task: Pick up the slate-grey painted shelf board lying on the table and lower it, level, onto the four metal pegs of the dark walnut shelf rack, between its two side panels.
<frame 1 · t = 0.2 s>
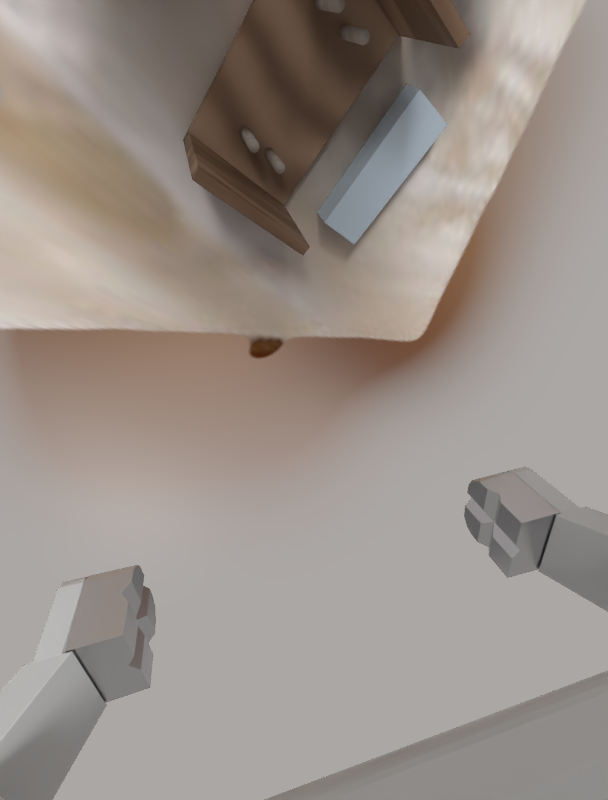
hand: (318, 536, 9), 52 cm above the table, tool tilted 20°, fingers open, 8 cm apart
shelf rack: (289, 82, 45), on the table
shelf board: (371, 166, 54), on the table
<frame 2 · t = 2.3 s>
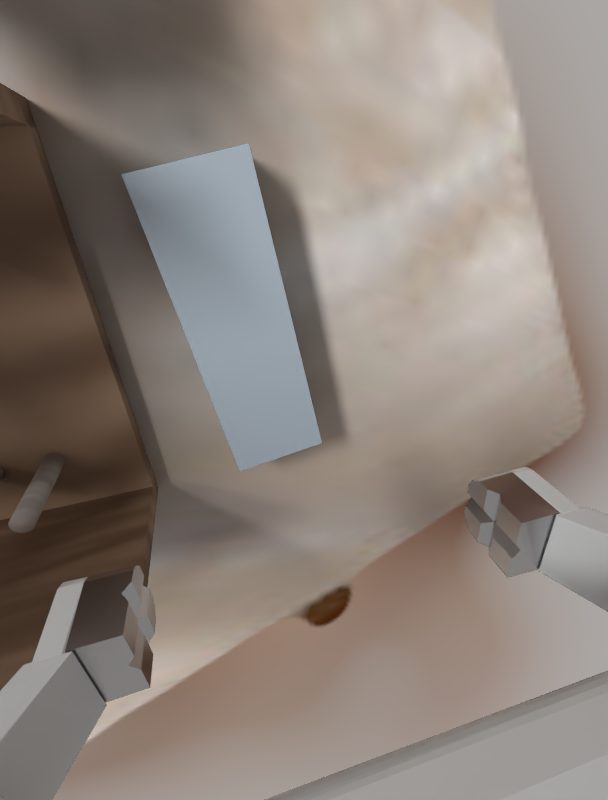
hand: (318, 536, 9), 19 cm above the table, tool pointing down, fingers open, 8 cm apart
shelf board: (236, 318, 26), on the table
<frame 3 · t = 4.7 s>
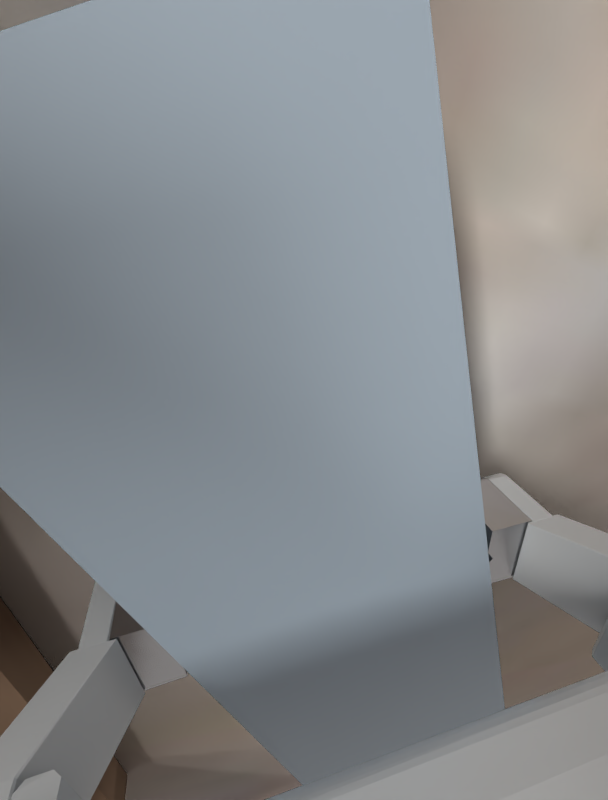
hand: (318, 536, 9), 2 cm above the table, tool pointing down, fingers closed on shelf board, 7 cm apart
shelf board: (300, 488, 11), on the table, touching gripper
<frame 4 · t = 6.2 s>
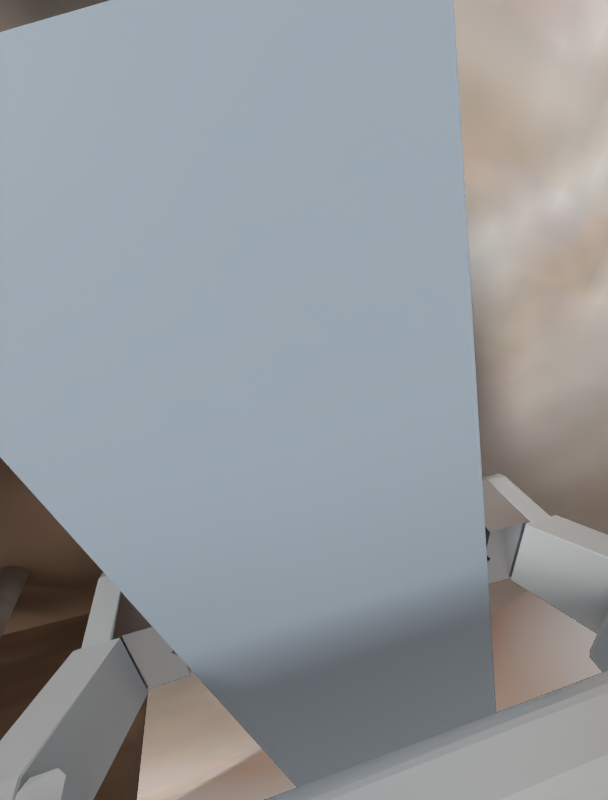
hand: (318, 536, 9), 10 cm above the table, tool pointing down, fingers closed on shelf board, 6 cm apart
shelf board: (300, 487, 11), point 8 cm above the table, touching gripper
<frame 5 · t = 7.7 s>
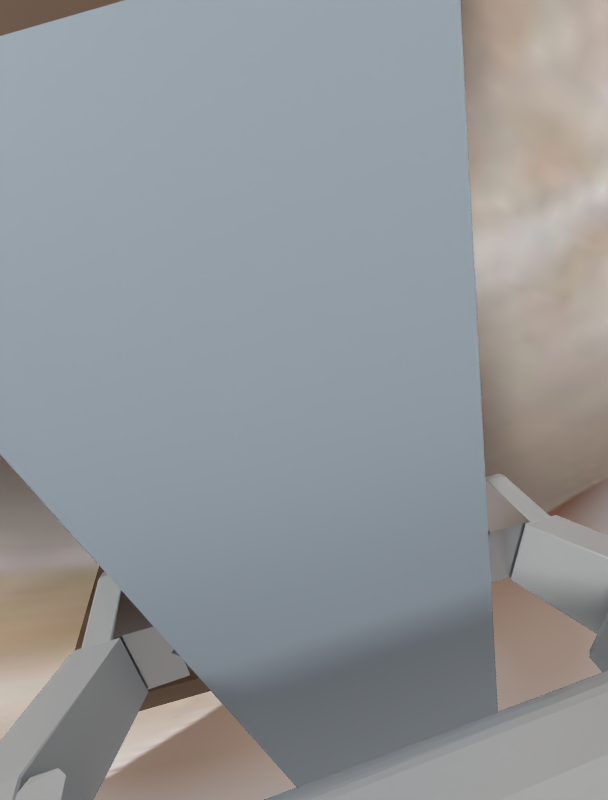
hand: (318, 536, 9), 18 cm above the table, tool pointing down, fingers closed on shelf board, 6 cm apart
shelf rack: (185, 343, 25), on the table
shelf board: (302, 488, 11), point 16 cm above the table, touching gripper
when the fingers open (10 cm above the table, at t = 10.0 s): shelf board stays where it is, resting on shelf rack.
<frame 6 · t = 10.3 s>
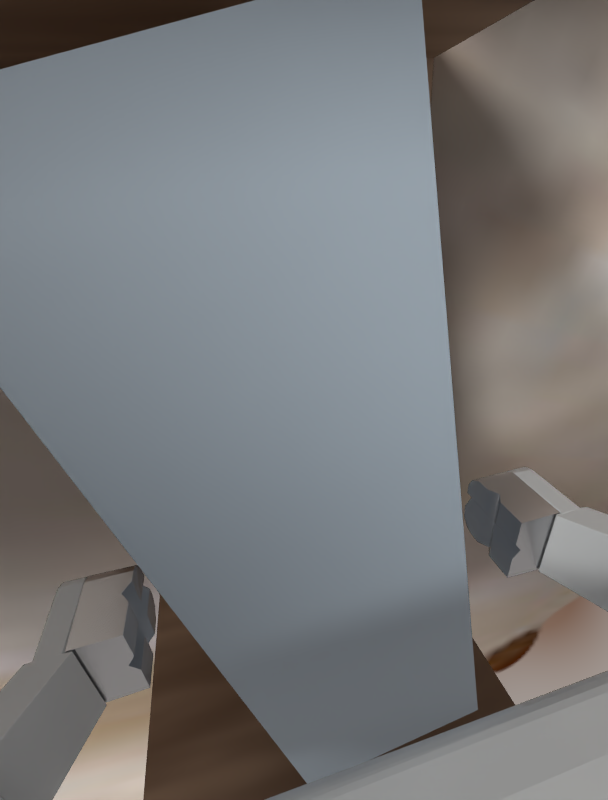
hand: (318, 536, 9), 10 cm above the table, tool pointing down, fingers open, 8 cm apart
shelf rack: (260, 378, 18), on the table
shelf board: (293, 472, 12), point 7 cm above the table, touching shelf rack
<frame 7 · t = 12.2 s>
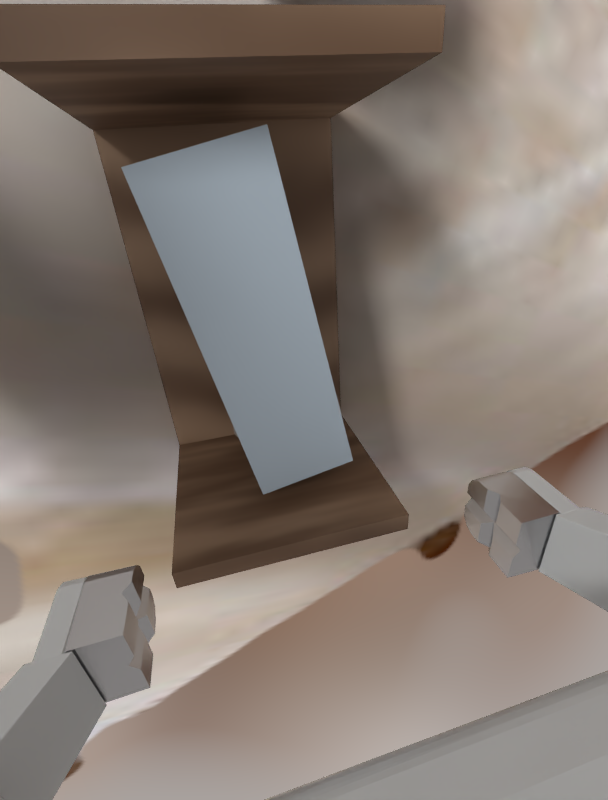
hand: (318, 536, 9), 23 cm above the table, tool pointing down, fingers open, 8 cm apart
shelf rack: (243, 300, 29), on the table
shelf board: (254, 326, 23), point 7 cm above the table, touching shelf rack
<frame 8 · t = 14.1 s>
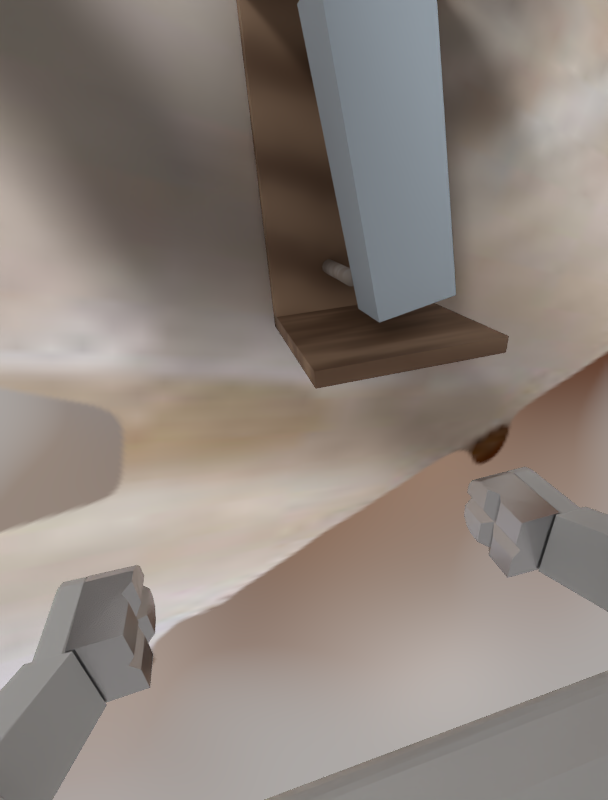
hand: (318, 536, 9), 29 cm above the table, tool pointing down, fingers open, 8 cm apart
shelf rack: (340, 174, 33), on the table
shelf board: (373, 169, 27), point 7 cm above the table, touching shelf rack
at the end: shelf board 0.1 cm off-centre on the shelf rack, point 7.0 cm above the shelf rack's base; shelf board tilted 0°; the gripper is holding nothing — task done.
